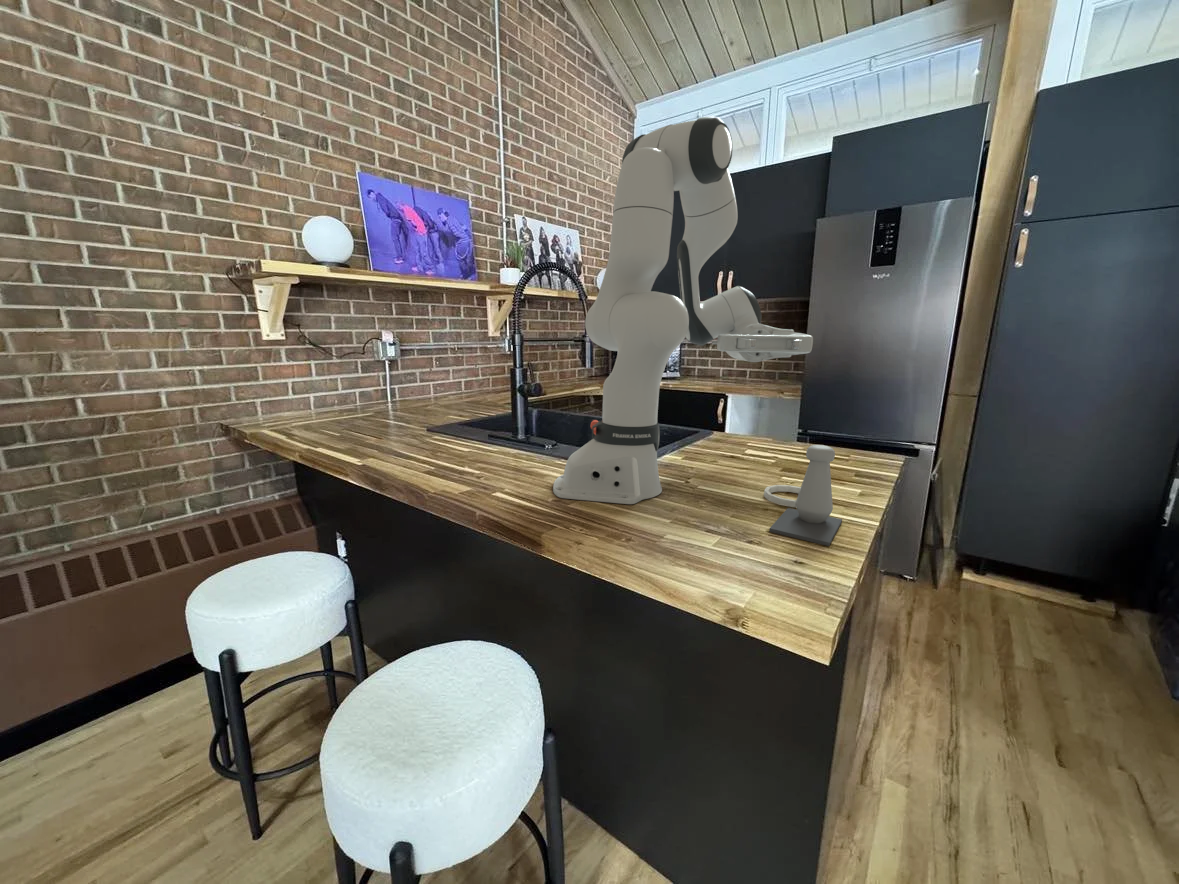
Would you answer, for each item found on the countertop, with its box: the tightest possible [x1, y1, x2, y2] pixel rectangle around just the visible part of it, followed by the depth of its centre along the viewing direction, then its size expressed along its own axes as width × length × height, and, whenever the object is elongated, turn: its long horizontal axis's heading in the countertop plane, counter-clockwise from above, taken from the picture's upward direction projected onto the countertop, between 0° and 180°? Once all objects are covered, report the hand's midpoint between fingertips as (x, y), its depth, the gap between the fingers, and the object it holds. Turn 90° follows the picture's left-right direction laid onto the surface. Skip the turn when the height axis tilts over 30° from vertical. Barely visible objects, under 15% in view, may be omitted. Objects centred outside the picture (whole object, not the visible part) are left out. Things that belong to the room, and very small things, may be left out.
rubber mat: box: [768, 507, 843, 547], centre depth 80 cm, size 12×9×1 cm
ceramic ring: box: [763, 484, 801, 508], centre depth 94 cm, size 10×10×1 cm
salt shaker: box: [795, 444, 836, 524], centre depth 80 cm, size 6×6×13 cm
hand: (775, 344), depth 98 cm, fingers open, 8 cm apart
